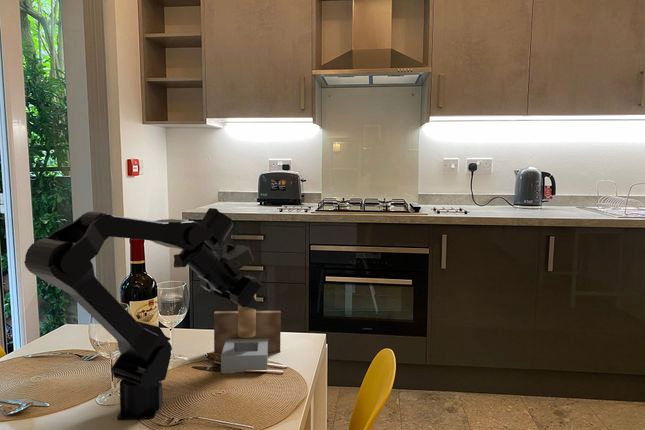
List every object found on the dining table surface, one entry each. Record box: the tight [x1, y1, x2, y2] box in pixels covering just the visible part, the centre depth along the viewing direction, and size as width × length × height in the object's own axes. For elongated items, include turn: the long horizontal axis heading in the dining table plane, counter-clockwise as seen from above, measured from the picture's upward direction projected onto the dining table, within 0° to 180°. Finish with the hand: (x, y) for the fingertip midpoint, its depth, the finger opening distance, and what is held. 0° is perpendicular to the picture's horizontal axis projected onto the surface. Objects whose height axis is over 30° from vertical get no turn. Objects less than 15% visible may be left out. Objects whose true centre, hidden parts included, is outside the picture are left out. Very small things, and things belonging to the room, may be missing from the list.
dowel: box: [237, 293, 257, 338], centre depth 105 cm, size 4×4×12 cm
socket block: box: [220, 338, 269, 374], centre depth 107 cm, size 10×10×4 cm
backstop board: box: [213, 310, 282, 354], centre depth 114 cm, size 16×2×10 cm, turn 95°
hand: (252, 305), depth 106 cm, fingers closed on dowel, 4 cm apart
